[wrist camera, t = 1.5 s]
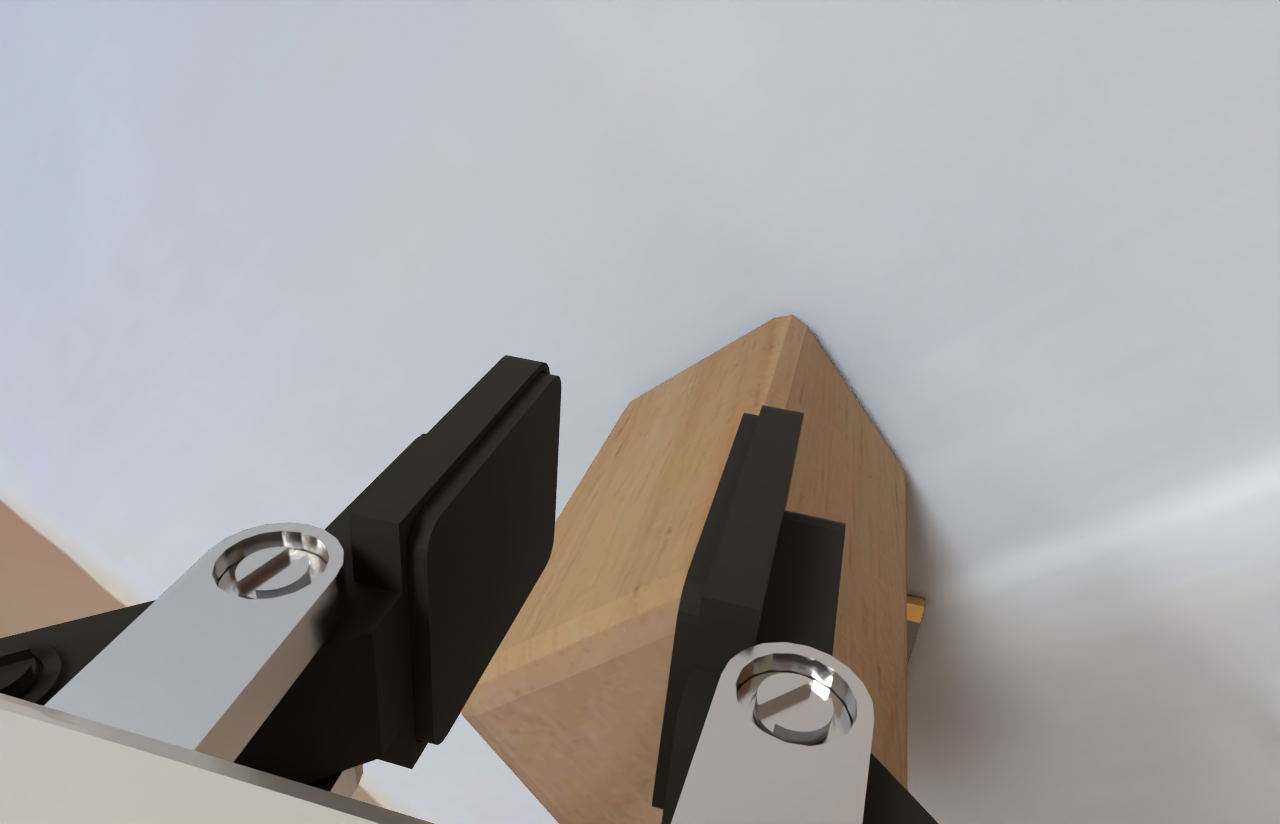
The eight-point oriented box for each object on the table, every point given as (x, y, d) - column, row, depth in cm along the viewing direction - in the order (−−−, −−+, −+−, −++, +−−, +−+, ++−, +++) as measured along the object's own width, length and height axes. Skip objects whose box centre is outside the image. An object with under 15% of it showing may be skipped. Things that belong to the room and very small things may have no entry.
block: (915, 475, 41) (923, 858, 23) (735, 556, 45) (631, 925, 28) (796, 298, 38) (709, 578, 21) (619, 402, 43) (429, 702, 26)
